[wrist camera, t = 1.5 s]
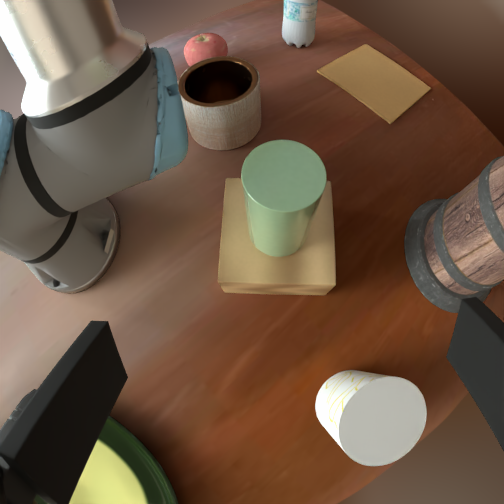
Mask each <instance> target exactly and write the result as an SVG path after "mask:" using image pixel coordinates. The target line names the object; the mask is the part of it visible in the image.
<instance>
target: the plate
mask: <svg viewBox="0 0 504 504" xmlns="http://www.w3.org/2000/svg"><path fill="white" fill-rule="evenodd" d="M34 500H35V501H36V502H37V504H47V503H46V502H45V501H44V500H43V499H42V498H41V497H39V496H38V495H36V497H35V499H34ZM69 504H179V503H178V500H177V497H176V494H175V491H174V489H173V487H172V484H171V482H170V480H169V478H168V477H167V475H166V473H165V472H164V470H163V468H162V467H161V465H160V464H159V462H158V461H157V460H156V458H155V457H154V456H153V455H152V453H151V452H150V451H149V450H148V449H147V448H146V447H145V446H144V444H143V443H142V442H141V441H140V440H138V439H137V438H136V437H135V436H134V435H133V434H132V433H131V432H130V431H129V430H128V429H126V428H125V427H124V426H123V425H122V424H121V423H119V422H118V421H117V420H115V419H114V418H113V417H111V416H110V415H109V417H108V419H107V421H106V423H105V425H104V427H103V429H102V431H101V433H100V435H99V438H98V440H97V442H96V444H95V446H94V448H93V450H92V453H91V455H90V457H89V459H88V461H87V464H86V466H85V468H84V470H83V472H82V475H81V477H80V479H79V481H78V484H77V486H76V488H75V491H74V493H73V495H72V498H71V500H70V502H69Z"/></svg>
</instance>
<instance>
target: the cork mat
mask: <svg viewBox="0 0 504 504" xmlns="http://www.w3.org/2000/svg"><path fill="white" fill-rule="evenodd" d="M317 73H319V74H321V75H322V76H324V77H325V78H327V79H328V80H330V81H331V82H333V83H334V84H336V85H337V86H339V87H340V88H342V89H343V90H345V91H346V92H348V93H349V94H350V95H352V96H353V97H355V98H356V99H357V100H359V101H360V102H362V103H363V104H364V105H366V106H367V107H368V108H370V109H371V110H372V111H374V112H375V113H376V114H378V115H379V116H380V117H381V118H383V119H384V120H385V121H386V122H388V123H389V124H391V123H393V122H394V121H395V120H396V119H397V118H398V117H399V116H401V115H402V114H403V113H404V112H405V111H406V110H407V109H409V108H410V107H411V106H412V105H413V104H414V103H415V102H417V101H418V100H419V99H420V98H421V97H422V96H424V95H425V94H426V93H427V92H428V91H429V90H430V89H431V88H430V87H429V86H427V85H426V84H425V83H423V82H422V81H421V80H419V79H418V78H417V77H415V76H414V75H412V74H411V73H410V72H408V71H407V70H405V69H404V68H403V67H401V66H400V65H398V64H397V63H395V62H394V61H392V60H391V59H389V58H388V57H386V56H385V55H383V54H382V53H380V52H378V51H377V50H375V49H374V48H372V47H370V46H369V45H367V44H365V45H363V46H361V47H359V48H357V49H355V50H353V51H351V52H349V53H348V54H346V55H344V56H342V57H340V58H338V59H336V60H335V61H333V62H331V63H329V64H327V65H326V66H324V67H322V68H320V69H318V70H317Z"/></svg>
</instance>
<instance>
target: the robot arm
mask: <svg viewBox="0 0 504 504" xmlns="http://www.w3.org/2000/svg"><path fill="white" fill-rule="evenodd" d="M0 36H1V38H2V39H3V41H4V43H5V45H6V47H7V49H8V50H9V52H10V54H11V55H12V58H13V59H14V61H15V63H16V64H17V66H18V68H19V70H20V71H21V73H22V75H23V76H24V78H25V80H26V89H25V92H24V96H23V100H22V104H21V106H22V111H23V112H24V114H23V115H21V116H19V117H18V118H17V119H13V117H12V115H11V114H10V113H9V112H5V111H4V110H0V251H2V252H4V253H7V254H9V255H11V256H13V257H15V258H17V259H19V260H21V261H23V262H25V264H26V265H27V266H28V267H29V269H30V270H31V271H32V272H33V273H34V275H35V276H36V277H37V278H38V279H39V280H40V281H41V282H42V283H43V284H44V285H46V286H47V287H49V288H51V289H53V290H55V291H58V292H61V293H77V292H80V291H83V290H85V289H87V288H89V287H91V286H92V285H94V284H95V283H96V282H97V281H98V280H99V279H100V278H101V277H102V276H103V275H104V274H105V273H106V271H107V270H108V268H109V267H110V265H111V263H112V262H113V259H114V257H115V255H116V252H117V249H118V245H119V239H120V224H119V219H118V215H117V212H116V210H115V208H114V207H113V205H112V204H111V203H110V202H109V201H108V200H107V199H106V197H108V196H110V195H113V194H115V193H117V192H120V191H122V190H124V189H127V188H129V187H132V186H134V185H136V184H139V183H141V182H144V181H146V180H151V179H153V178H154V177H155V176H156V175H158V174H160V173H162V172H164V171H166V170H168V169H171V168H173V167H175V166H177V165H178V164H180V163H181V162H182V160H183V159H184V158H185V157H186V154H187V151H188V133H187V126H186V119H185V113H184V108H183V103H182V99H181V95H180V93H179V91H178V90H179V87H178V83H177V76H176V72H175V69H174V65H173V62H172V59H171V56H170V54H169V52H168V51H167V49H165V48H156V47H154V48H151V49H149V46H148V43H147V39H146V37H145V35H143V34H142V33H140V32H137V31H134V30H131V29H127V28H124V27H122V25H121V24H120V21H119V18H118V15H117V12H116V10H115V7H114V4H113V1H112V0H0ZM446 358H447V359H448V360H449V362H450V363H451V365H452V366H453V368H454V369H455V371H456V372H457V374H458V376H459V377H460V379H461V380H462V382H463V383H464V385H465V386H466V388H467V390H468V391H469V393H470V394H471V396H472V397H473V399H474V401H475V402H476V404H477V406H478V407H479V409H480V411H481V412H482V414H483V416H484V417H485V419H486V420H487V422H488V424H489V426H490V428H491V429H492V431H493V433H494V435H495V436H496V438H497V440H498V442H499V444H500V445H501V447H502V449H503V451H504V323H503V322H502V321H501V320H500V319H499V318H498V317H497V316H496V315H495V314H494V313H493V312H492V311H491V310H490V309H489V308H488V307H487V306H486V305H485V304H484V303H483V302H482V301H480V300H479V299H478V298H477V297H471V298H465V299H461V304H460V308H459V312H458V316H457V320H456V324H455V328H454V332H453V336H452V339H451V343H450V346H449V350H448V353H447V356H446ZM127 378H128V376H127V374H126V371H125V369H124V366H123V363H122V361H121V358H120V355H119V353H118V350H117V347H116V344H115V341H114V338H113V335H112V332H111V329H110V326H109V323H108V321H91V322H90V323H89V324H88V325H87V327H86V328H85V329H84V330H83V332H82V333H81V334H80V335H79V336H78V338H77V339H76V340H75V341H74V343H73V344H72V345H71V346H70V348H69V349H68V350H67V351H66V353H65V354H64V355H63V357H62V358H61V359H60V360H59V362H58V363H57V364H56V366H55V367H54V368H53V369H52V371H51V372H50V373H49V375H48V376H47V377H46V379H45V380H44V381H43V383H42V384H41V385H40V387H39V388H38V390H36V389H34V390H33V391H31V392H30V393H29V394H27V395H26V396H25V397H24V398H23V399H22V400H21V401H20V403H19V404H18V406H17V407H16V410H14V411H13V412H12V414H11V415H10V419H7V421H6V422H5V424H4V425H3V427H2V428H1V430H0V504H37V502H36V501H35V500H34V499H35V497H36V495H38V496H39V497H41V498H42V499H43V500H44V501H45V502H46V503H47V504H69V502H70V500H71V498H72V495H73V493H74V491H75V488H76V486H77V484H78V481H79V479H80V477H81V475H82V472H83V470H84V468H85V466H86V464H87V461H88V459H89V457H90V455H91V453H92V450H93V448H94V446H95V444H96V442H97V440H98V438H99V435H100V433H101V431H102V429H103V427H104V425H105V423H106V421H107V419H108V417H109V415H110V412H111V410H112V408H113V406H114V404H115V402H116V400H117V398H118V396H119V394H120V392H121V390H122V388H123V386H124V384H125V382H126V380H127Z"/></svg>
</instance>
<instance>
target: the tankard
mask: <svg viewBox="0 0 504 504" xmlns="http://www.w3.org/2000/svg"><path fill="white" fill-rule="evenodd" d="M404 243H405V256H406V261H407V265H408V268H409V271H410V274H411V276H412V278H413V280H414V282H415V284H416V286H417V287H418V288H419V290H420V291H421V292H422V294H423V295H424V296H425V297H426V298H427V299H428V300H429V301H430V302H431V303H433V304H434V305H436V306H437V307H439V308H441V309H442V310H446V311H449V312H453V313H458V312H459V308H460V304H461V299H465V298H471V297H477V298H478V299H479V300H480V301H482V302H483V301H484V300H485V299H486V297H487V296H488V294H489V293H490V290H491V288H492V287H494V286H496V285H498V284H500V283H501V282H502V281H503V280H504V156H502V157H497V158H496V159H494V160H493V161H491V162H490V163H489V164H488V165H487V166H486V167H485V168H484V169H483V171H482V172H481V174H480V175H479V176H478V177H477V178H476V179H474V180H473V181H472V182H471V183H470V184H469V185H467V186H466V187H465V188H464V189H463V190H462V191H460V192H459V193H456V194H454V195H452V196H451V197H450V198H448V199H434V200H431V201H428V202H426V203H424V204H422V205H421V206H420V207H419V208H418V209H417V210H415V211H414V213H413V215H412V216H411V218H410V219H409V222H408V225H407V228H406V233H405V240H404Z"/></svg>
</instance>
